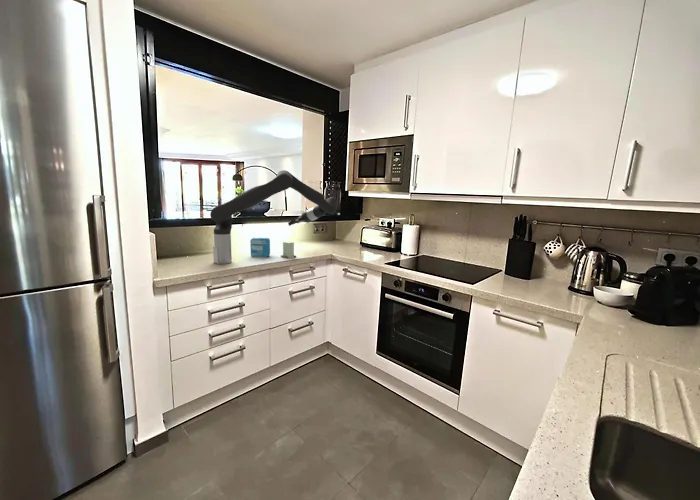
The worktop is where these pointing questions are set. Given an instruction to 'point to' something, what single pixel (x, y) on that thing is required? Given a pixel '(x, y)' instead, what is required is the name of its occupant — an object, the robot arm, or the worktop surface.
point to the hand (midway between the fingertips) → (292, 223)
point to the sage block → (288, 249)
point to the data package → (260, 247)
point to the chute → (286, 256)
